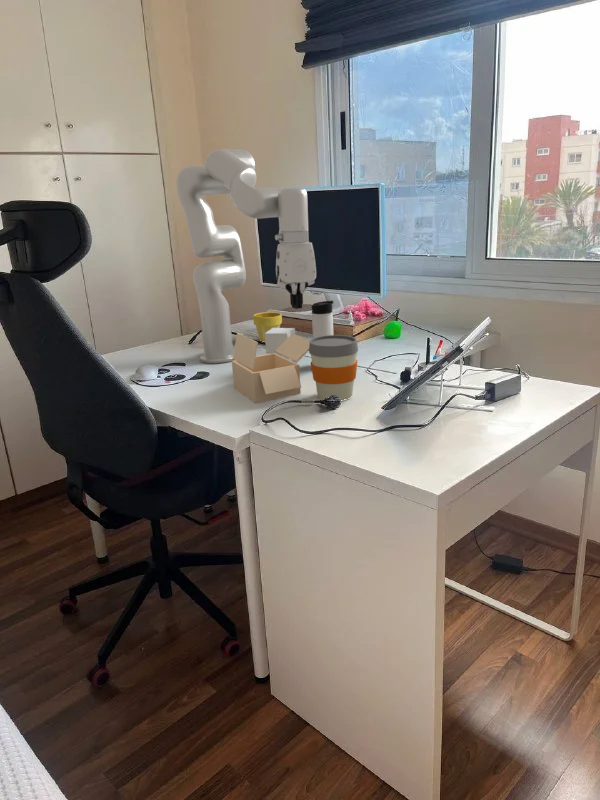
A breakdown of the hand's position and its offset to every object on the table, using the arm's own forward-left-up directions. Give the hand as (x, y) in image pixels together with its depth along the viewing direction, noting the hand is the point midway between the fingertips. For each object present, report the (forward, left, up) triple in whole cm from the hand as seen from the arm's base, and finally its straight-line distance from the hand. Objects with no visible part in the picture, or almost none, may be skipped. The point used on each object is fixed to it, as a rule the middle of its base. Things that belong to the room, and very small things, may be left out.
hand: (296, 307), depth 164 cm
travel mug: (-11, +14, -22) cm, 28 cm away
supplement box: (-14, +1, -22) cm, 26 cm away
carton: (+1, -11, -22) cm, 24 cm away
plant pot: (-53, +14, -22) cm, 59 cm away
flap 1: (+1, -16, -9) cm, 18 cm away
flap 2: (+1, -2, -10) cm, 11 cm away
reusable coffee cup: (+16, +2, -22) cm, 27 cm away
